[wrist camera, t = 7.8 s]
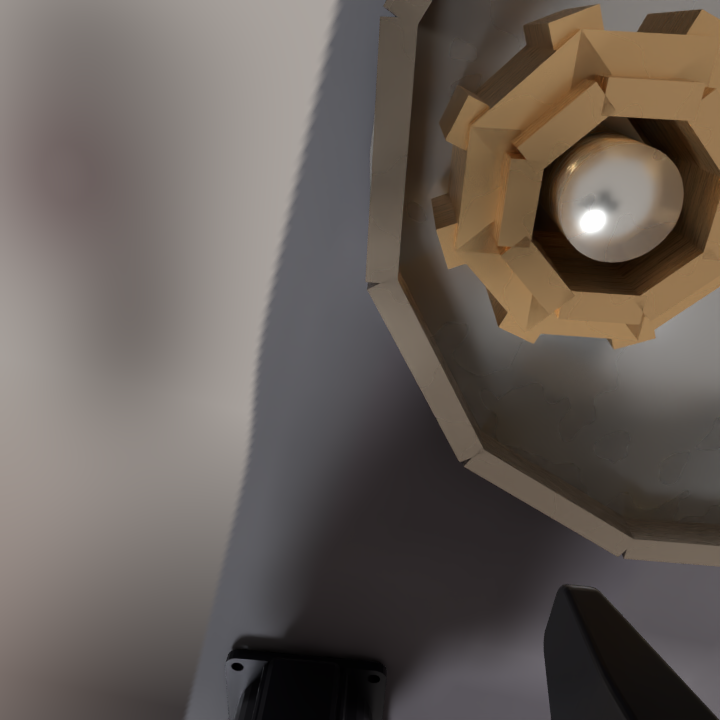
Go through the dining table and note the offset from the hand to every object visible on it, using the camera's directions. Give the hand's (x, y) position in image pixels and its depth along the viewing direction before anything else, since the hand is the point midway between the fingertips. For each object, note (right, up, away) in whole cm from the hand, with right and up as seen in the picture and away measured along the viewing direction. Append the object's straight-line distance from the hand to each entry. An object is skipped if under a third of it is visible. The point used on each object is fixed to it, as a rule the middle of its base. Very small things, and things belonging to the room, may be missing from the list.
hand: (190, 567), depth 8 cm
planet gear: (+7, +7, +8) cm, 13 cm away
